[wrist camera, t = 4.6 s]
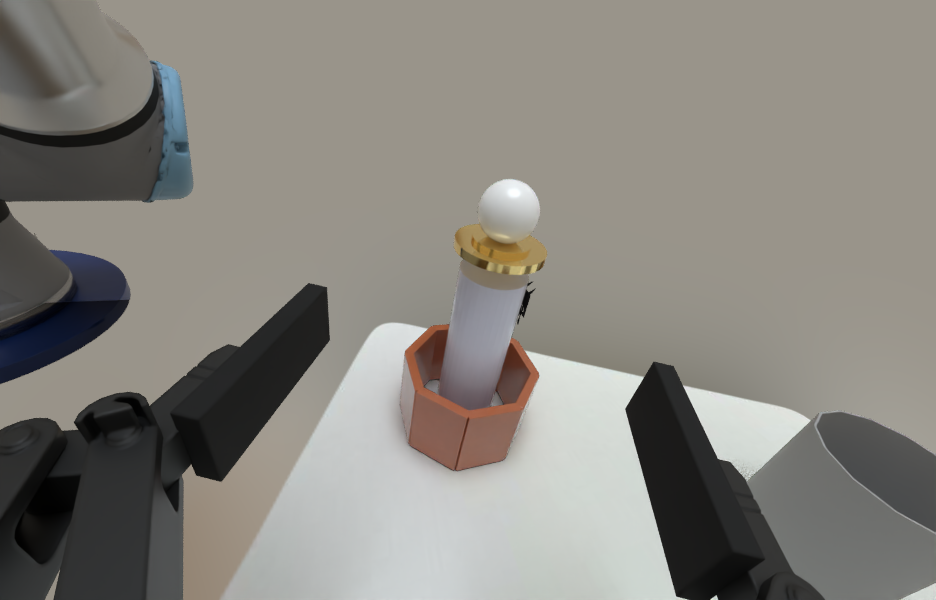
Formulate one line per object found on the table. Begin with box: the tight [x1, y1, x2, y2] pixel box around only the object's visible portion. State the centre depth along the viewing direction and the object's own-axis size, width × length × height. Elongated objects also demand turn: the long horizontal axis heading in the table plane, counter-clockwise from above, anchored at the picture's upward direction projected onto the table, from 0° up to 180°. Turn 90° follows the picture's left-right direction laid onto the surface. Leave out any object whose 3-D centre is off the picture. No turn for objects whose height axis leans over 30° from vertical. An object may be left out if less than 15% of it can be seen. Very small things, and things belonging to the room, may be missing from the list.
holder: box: [400, 324, 539, 471], centre depth 30 cm, size 10×10×6 cm
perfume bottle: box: [437, 179, 547, 410], centre depth 26 cm, size 6×6×20 cm
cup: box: [747, 410, 936, 600], centre depth 24 cm, size 8×8×10 cm
